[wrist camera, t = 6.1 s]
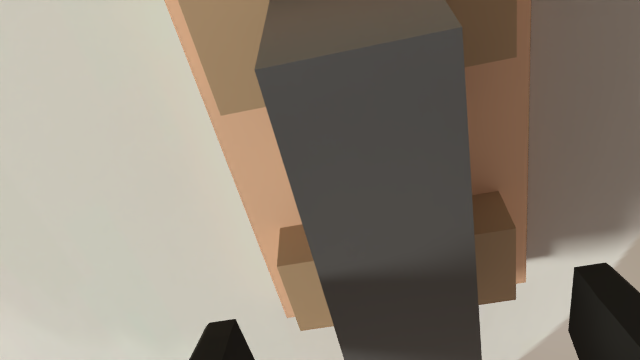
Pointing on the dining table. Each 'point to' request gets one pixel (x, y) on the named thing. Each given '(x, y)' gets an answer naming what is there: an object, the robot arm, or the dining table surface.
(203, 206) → the dining table surface
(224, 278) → the dining table surface
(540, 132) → the dining table surface
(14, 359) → the dining table surface
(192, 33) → the display stand
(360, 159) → the frame bar
